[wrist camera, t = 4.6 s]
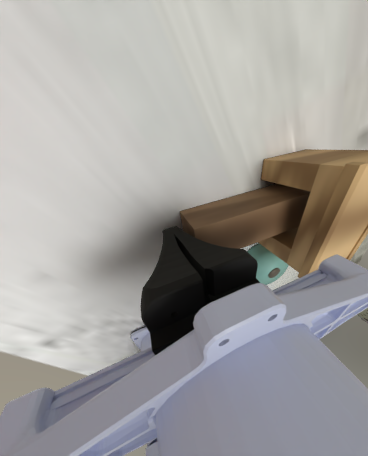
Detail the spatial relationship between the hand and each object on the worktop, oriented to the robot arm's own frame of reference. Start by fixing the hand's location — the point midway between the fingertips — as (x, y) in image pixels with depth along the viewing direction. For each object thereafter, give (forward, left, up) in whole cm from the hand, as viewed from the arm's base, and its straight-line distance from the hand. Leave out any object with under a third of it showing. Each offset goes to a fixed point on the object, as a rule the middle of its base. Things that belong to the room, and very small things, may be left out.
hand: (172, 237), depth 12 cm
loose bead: (-8, -11, -1) cm, 13 cm away
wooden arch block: (0, -12, -1) cm, 12 cm away
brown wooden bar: (0, -8, -1) cm, 8 cm away
